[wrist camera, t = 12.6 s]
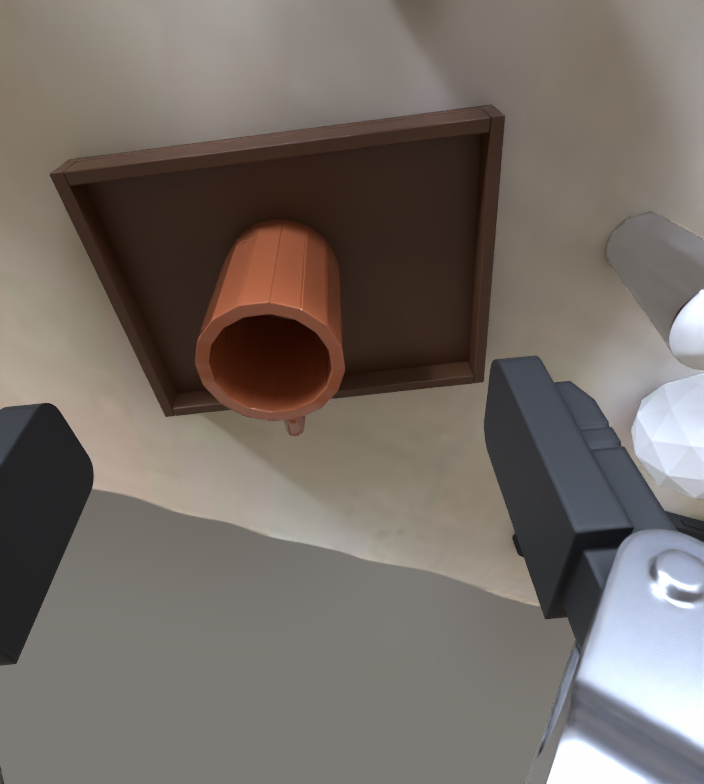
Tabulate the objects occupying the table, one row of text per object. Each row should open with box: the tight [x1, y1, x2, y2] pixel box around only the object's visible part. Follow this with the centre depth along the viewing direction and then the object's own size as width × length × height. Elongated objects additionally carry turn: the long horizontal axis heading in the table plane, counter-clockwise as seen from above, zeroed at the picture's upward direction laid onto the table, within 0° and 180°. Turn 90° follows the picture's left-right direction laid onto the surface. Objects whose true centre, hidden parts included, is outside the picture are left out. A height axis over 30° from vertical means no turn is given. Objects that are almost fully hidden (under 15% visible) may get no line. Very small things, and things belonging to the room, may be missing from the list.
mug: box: [195, 219, 345, 436], centre depth 24 cm, size 8×6×8 cm
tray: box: [50, 105, 505, 417], centre depth 26 cm, size 19×14×2 cm
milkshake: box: [605, 212, 704, 370], centre depth 22 cm, size 4×5×10 cm
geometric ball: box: [631, 373, 704, 500], centre depth 31 cm, size 8×8×8 cm
